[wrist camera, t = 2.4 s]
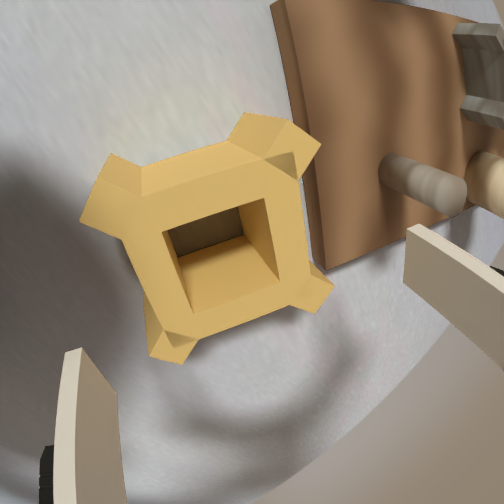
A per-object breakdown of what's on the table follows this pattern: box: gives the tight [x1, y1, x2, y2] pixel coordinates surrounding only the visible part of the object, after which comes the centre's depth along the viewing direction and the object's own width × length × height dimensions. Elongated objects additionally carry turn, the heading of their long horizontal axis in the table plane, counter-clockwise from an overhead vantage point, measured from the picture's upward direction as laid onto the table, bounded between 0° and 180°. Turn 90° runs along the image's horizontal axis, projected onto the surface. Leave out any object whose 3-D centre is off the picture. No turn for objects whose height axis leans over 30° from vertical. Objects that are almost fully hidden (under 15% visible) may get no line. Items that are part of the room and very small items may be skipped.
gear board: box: [270, 0, 504, 270], centre depth 18 cm, size 24×18×8 cm
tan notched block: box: [79, 112, 335, 365], centre depth 17 cm, size 11×11×6 cm
